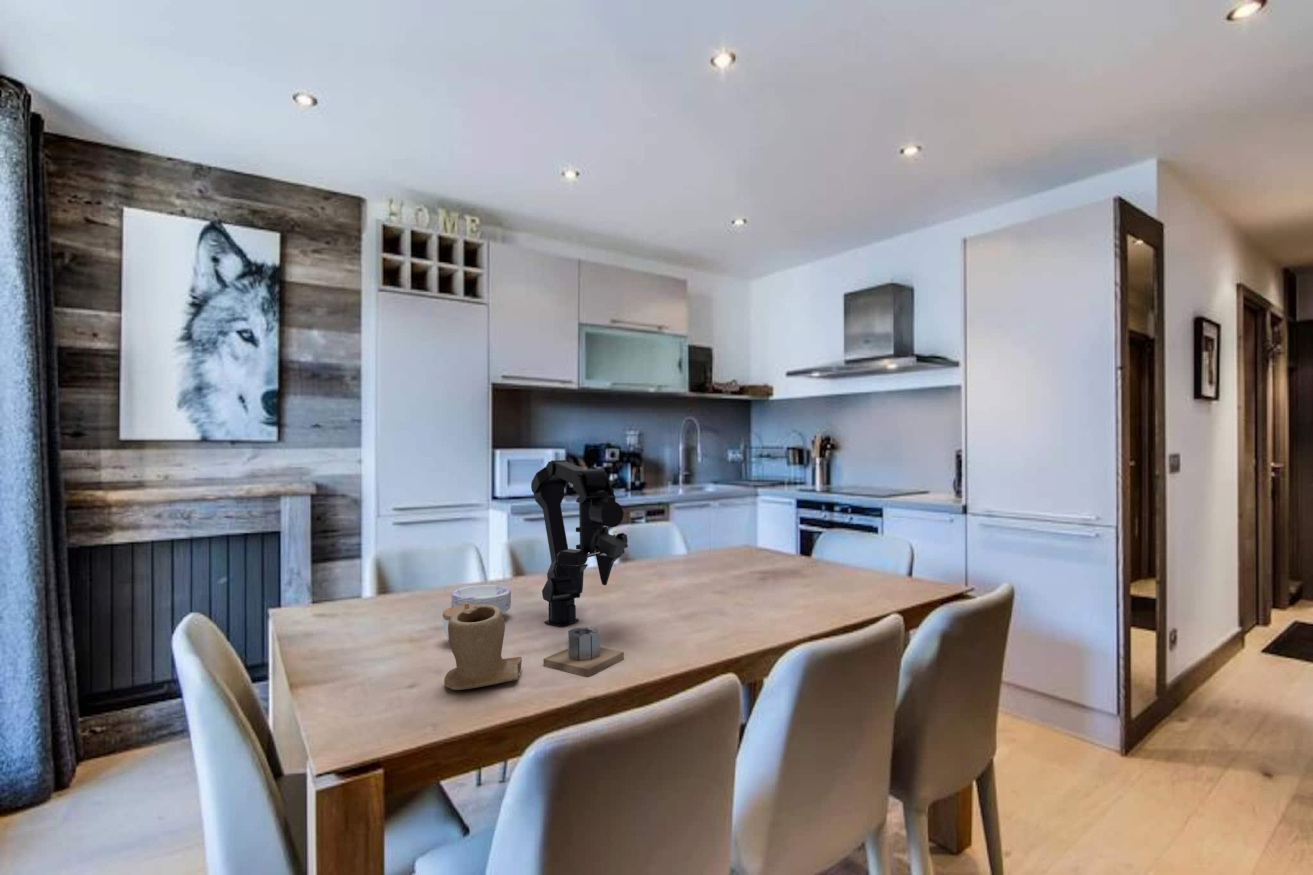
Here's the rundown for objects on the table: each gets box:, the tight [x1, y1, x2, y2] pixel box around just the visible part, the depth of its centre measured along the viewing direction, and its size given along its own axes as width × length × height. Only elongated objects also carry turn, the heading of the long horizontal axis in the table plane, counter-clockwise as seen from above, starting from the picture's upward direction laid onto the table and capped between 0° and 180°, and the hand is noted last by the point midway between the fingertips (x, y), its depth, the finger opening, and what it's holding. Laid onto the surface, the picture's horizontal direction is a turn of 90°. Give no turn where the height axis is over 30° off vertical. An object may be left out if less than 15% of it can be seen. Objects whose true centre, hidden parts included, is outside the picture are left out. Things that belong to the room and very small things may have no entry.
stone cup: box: [443, 605, 523, 691], centre depth 122 cm, size 15×12×15 cm
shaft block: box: [543, 646, 625, 678], centre depth 133 cm, size 12×12×6 cm
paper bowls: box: [450, 584, 512, 615], centre depth 166 cm, size 15×15×8 cm
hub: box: [567, 626, 600, 661], centre depth 133 cm, size 6×6×5 cm
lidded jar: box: [442, 603, 477, 640], centre depth 147 cm, size 11×11×9 cm
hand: (592, 588), depth 148 cm, fingers open, 9 cm apart
